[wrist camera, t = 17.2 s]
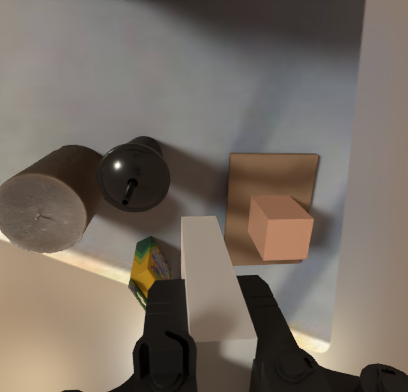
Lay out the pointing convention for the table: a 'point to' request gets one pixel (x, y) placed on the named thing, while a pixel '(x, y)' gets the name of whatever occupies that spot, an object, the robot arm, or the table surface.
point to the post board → (263, 186)
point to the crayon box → (147, 268)
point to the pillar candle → (51, 200)
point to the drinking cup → (134, 175)
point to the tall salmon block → (279, 228)
